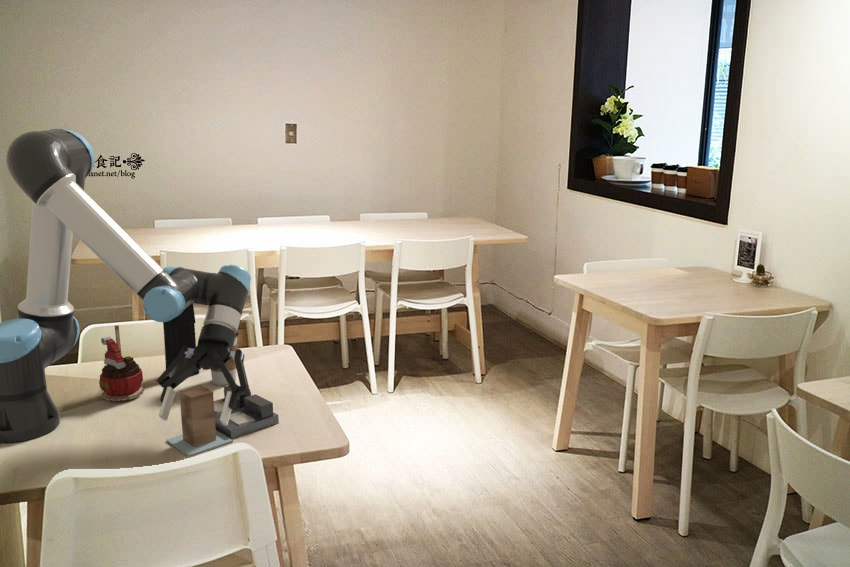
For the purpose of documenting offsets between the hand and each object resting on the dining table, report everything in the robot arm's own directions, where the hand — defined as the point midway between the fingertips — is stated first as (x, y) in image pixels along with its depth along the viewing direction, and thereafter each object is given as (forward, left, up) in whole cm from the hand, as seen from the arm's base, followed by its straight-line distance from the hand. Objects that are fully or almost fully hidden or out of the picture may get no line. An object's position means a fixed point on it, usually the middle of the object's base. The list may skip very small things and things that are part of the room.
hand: (192, 420), depth 159 cm
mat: (-1, +2, -6) cm, 6 cm away
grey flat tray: (-6, +13, -6) cm, 16 cm away
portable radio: (-41, +19, -6) cm, 46 cm away
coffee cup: (-29, +24, -6) cm, 38 cm away
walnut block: (-1, +2, -5) cm, 6 cm away
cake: (-37, +1, -6) cm, 38 cm away
